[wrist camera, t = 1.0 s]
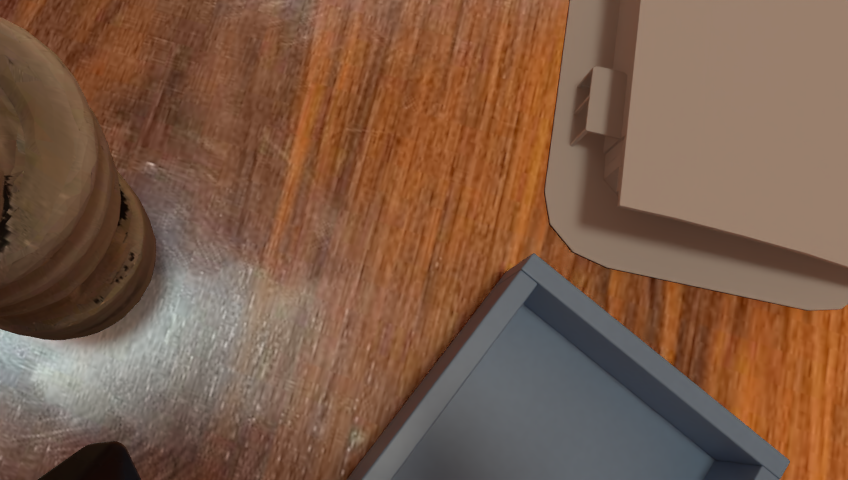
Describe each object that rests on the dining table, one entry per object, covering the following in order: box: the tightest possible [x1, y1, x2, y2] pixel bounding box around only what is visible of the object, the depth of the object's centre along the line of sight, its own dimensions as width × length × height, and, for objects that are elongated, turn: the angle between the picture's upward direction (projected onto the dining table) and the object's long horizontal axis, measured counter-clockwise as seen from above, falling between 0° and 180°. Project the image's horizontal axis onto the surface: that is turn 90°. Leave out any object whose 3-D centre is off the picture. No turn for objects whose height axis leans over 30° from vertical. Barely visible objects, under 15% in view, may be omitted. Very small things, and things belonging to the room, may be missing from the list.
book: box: [545, 0, 848, 310], centre depth 31 cm, size 15×23×4 cm, turn 170°
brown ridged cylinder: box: [0, 17, 156, 340], centre depth 19 cm, size 6×6×15 cm
